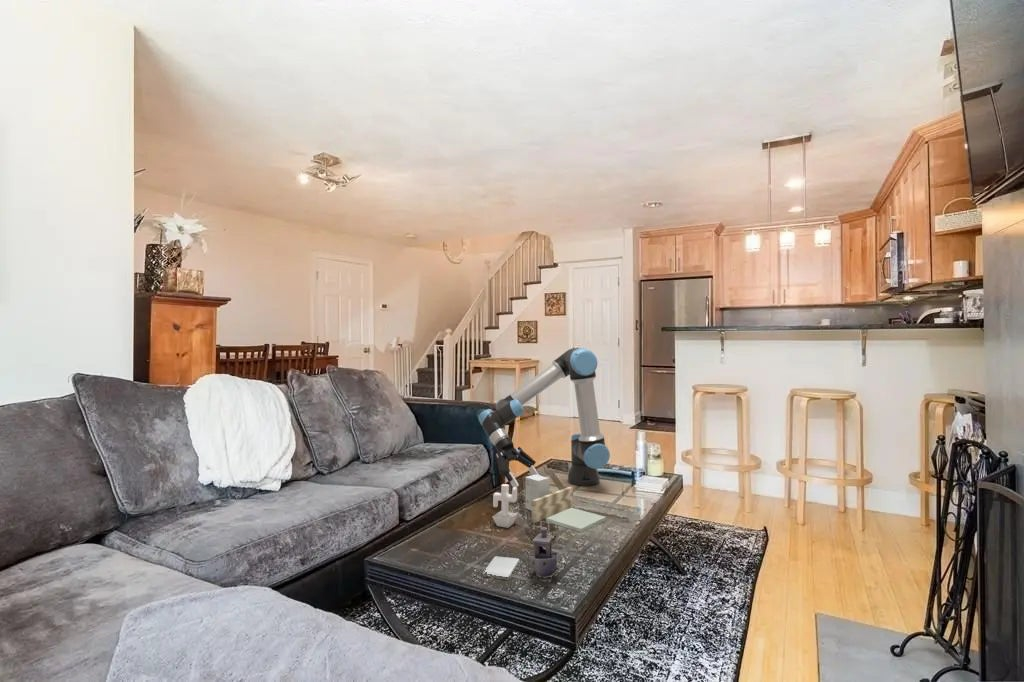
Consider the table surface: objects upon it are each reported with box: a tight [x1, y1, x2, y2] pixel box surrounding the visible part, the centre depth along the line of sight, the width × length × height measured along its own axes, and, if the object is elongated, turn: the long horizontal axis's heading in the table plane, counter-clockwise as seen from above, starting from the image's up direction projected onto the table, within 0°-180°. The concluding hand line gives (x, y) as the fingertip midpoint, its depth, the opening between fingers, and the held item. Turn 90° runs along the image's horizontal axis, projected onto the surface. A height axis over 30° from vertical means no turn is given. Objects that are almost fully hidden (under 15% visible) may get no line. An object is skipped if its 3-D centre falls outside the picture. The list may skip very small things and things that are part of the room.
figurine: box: [491, 483, 518, 529], centre depth 188 cm, size 7×9×15 cm
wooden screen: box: [531, 486, 574, 524], centre depth 199 cm, size 24×2×8 cm, turn 137°
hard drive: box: [484, 555, 521, 577], centre depth 152 cm, size 2×8×12 cm
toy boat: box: [528, 526, 560, 579], centre depth 148 cm, size 15×8×13 cm, turn 164°
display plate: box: [545, 507, 607, 533], centre depth 192 cm, size 16×16×1 cm
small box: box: [524, 474, 551, 512], centre depth 204 cm, size 8×6×13 cm
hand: (528, 483), depth 207 cm, fingers open, 13 cm apart
